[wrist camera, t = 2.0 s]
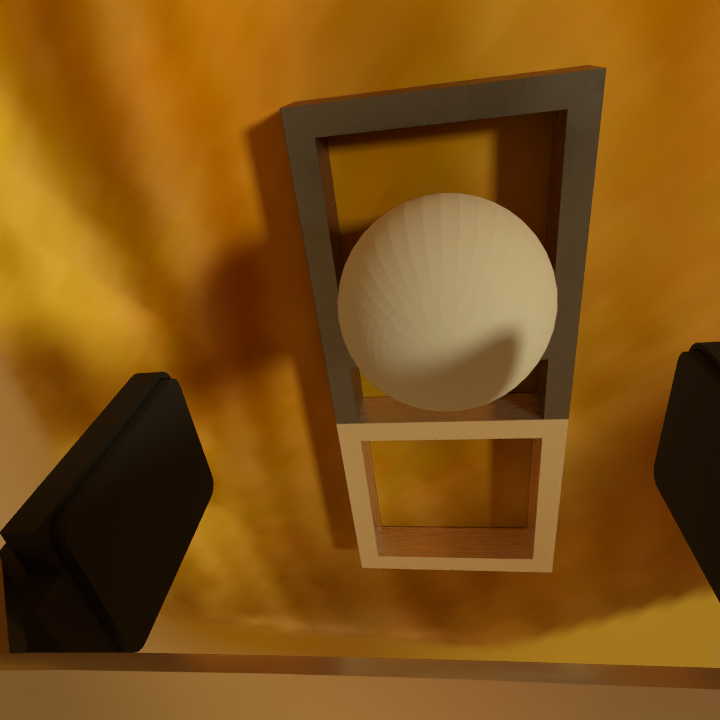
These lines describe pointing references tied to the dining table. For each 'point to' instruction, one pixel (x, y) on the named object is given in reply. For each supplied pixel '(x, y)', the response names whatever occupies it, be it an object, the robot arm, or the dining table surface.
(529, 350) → the light bulb
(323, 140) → the rail
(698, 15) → the dining table surface
